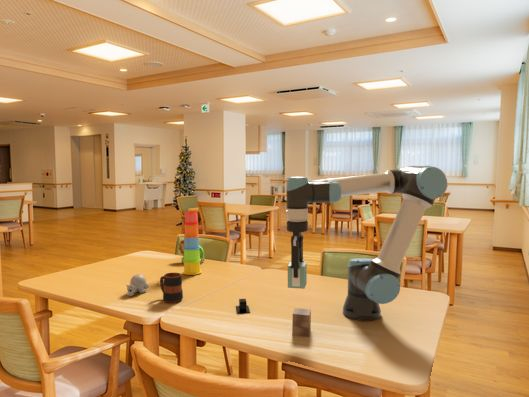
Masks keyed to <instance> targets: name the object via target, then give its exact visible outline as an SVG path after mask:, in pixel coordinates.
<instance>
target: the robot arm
mask: <svg viewBox="0 0 529 397" xmlns="http://www.w3.org/2000/svg"><path fill="white" fill-rule="evenodd" d="M447 188H448V178H447V177H446V174H445V173H444V171H443V170H442V169H440V168H438V167H436V166H431V165H422V166H421V165H409V166H405V167H401V168H396V169H387V170H385V171H384V172H382V173H373V174H363V175H353V176H345V177H334V178H325V179H308V177H306V176H290V177H288V178H286V189H285V190H286V210H285V211H284V213H285V214H286V219H287V220H286V231H287V232H290V233H292V236H291V237H290V246H291V249H290V250H291V253H290V255H291V257H290V258H291V261H290V262H291V267H290V268H292V286H299V287H300V266H299V262H305V260H304V234H303V233H305V232H308V230H309V229H308V228H309V227H308V225H309V224H308V223H309V222H308V218H309V208H308V207H309V206H308V204H317V203H318V204H325V203H326V204H331V203H339V202H340V200H341V197H348V196H349V197H351V196H360V195H369V194H380V193H387V195H388V194H389V195H392V194H400V195H401V197H402V202H401V204H400V207H399V209H398V211H397V213H396V216H395V217H394V220H393V222H392V224H391V226H390V229H389V231H388V234H387V235H386V237H385V239H384V242H383V243H382V246H381V248H380V250H379V253H378V255H377V256H376V257H375V258H369V257H363V258H362V257H358V258H351V259H349V260H348V265H347V295H346V298H345V300H344V303H343V306H342V314H343V315H344V316H346V317H347V318H348V319H349V318H350V319H352V320H356V321H357V320H358V321H374V320H375V321H376V320H378V319H380V318H381V316H382V315H381V312H382V311H381V307H380V305H386V304H388V303H392V302H393V301H394V300H396V299H397V297H398V296H399V294H400V290H401V284H400V281H399V279H400V277H401V275H402V272H401V269H400V267H401V264H402V262H403V259H404V258H405V255H406V253H407V251H408V249H409V248H410V247H409V246H410V245H411V242H412V240H413V238H414V236H415V234H416V232H417V229H418V227H419V225H420V223H421V221H422V218H423V216H424V213H425V211H426V210H427V209H429V208H433V204H434V202H435V200H436V199H440V197H443V196H444V195H445V193H446V191H447V190H448V189H447Z"/></svg>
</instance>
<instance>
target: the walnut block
mask: <svg viewBox="0 0 529 397" xmlns="http://www.w3.org/2000/svg"><path fill="white" fill-rule="evenodd" d="M311 311H312V309H311V308H297V307H295V308H294V310H293V312H292V319H291V320H292V322H291V323H292V327H291V328H292V329H291V330H292V334H291V336H293V337H294V336H295V337H303V338H305V337H306V338H310V333H311V331H312V330H311V329H312V327H311V325H312V324H311V323H312V321H311V320H312V319H311V318H312V312H311Z"/></svg>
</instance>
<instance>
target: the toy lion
mask: <svg viewBox="0 0 529 397" xmlns="http://www.w3.org/2000/svg"><path fill="white" fill-rule="evenodd" d="M199 247H200V249H199V252H200V255H199V256H200V259H201V261H200V264H202V263H203V262H204V261H205V259H206V258H205V251H204V249H203V247H202V246H201V245H199ZM183 248H184V239H182V240H181V241H180V242H179V243H178V250H179V251H180V254H182V258H181V262H182V263H183V264H184V262H183V260H184V249H183Z"/></svg>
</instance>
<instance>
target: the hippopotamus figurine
mask: <svg viewBox="0 0 529 397" xmlns="http://www.w3.org/2000/svg"><path fill="white" fill-rule="evenodd" d="M129 283H130V284H129V285H128V284H125V285H126V290H127V291H126V295H127V296H128V297H133V296H134V293H140V294H144V293H145V292H146V290H148V289H149V288H150V286H149V284H148V283H147V280H146V277H145V276H144V275H142V274H135V275H133V276H132V277H131V278H130V281H129Z"/></svg>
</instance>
